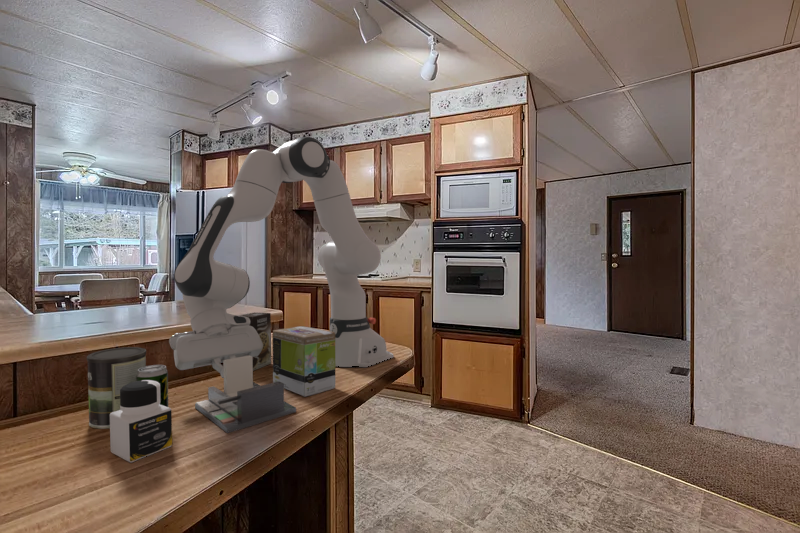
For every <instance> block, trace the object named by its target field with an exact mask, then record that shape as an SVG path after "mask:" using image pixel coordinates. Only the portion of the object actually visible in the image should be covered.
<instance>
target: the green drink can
mask: <svg viewBox="0 0 800 533" xmlns="http://www.w3.org/2000/svg"><path fill="white" fill-rule="evenodd" d="M141 380H153V381H157V382H158V383H160V401H161V402H160V405H163V406H166V407H169V372H168V369H167V366H166V365H164V364H153V365H146V367H142V368H139V369H138V373H137V375H136V381H141Z"/></svg>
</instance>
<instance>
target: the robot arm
mask: <svg viewBox="0 0 800 533" xmlns="http://www.w3.org/2000/svg"><path fill="white" fill-rule="evenodd" d="M301 181H304V182H305V183H306V184H307V185H308V187H309V189H310V192H311V196H312V200H313V203H314V204H313V205H314V207H315V210H316V214H317V217H318V221H319V224H320V226H321V228H322V229H324V230H325V231H326V233H327V234H328V235H329V236H330V237H329V238H331V239H332V240H331V241H328V242H327V243H324V244H323V245H322V246H321V247H320V248H319V249H318V254H317V259H318V263H319V265H320V266H321V268H322V269H323V271H324V274H325V277H326V281H327V284H328V288H329V294H330V317H329V331H332V332H335V367H338V366H339V367H340V368H353V367H352V366H359V367H358V368H369V367H371V365H372V366H375V365H376V363H377V364H380V363H383V362H385V361H387V359H388V360H390V358H391V359H393V358H394V357H395V356H394V354H393V353H392V352H390V351H388V350H387V343H386V340H385V338H384V337H383V336H381V335H380V334H379V333H378V332H376V331H375V330H373V329H372V328H371V325H370V324H372V325H375V324H376V322H377V319H376V317H371V316H370V317H369V318H368V317H367V313H366V312H367V311H366V308H367V306H366V305H367V303H366V302H367V301H366V299H367V297H366V292H365V289H364V288H362V286H361V284H360V281H359V278H358V276H360V275H361V276H362V275H365V274H369V273H370V274H371V273H372V272H374V271H376V270H377V268H378V267H379V265H380V263H381V258H382V255H381V250H380V248H379V246H378V245H377V244H376V243H375V242H374V241H372V240H371V239H370V238H369V237H368V236H367V234H366V232H365V231H364V229H363V227H362V226H361V224H360V222H359V220H358V218H357V216H356V213H355V209H354V205H353V203H352V199H351V195H350V192H349V188H348V185H347V182H346V179H345V177H344V174H343V172H342V170H341V167H340V166H339V164H338V163H337V162H336V161H334V160H332V159H330V156H329V155H328V154H327V150H326V148H325V147H324V145H323V144H322V143H321V142H320V141H319V140H318V139H316V138H314V137H312V136H300V137H298V138H296V139H292V140H289V141H286V142H284V143H283V144H282V145H280V146H279V147H276V148H275V149H273V150H272V151H270V150H268V149H262V148H261V149H259V148H258V149H253V150H252V151H250V152H249V153H248V154H247V155H246V157H245V159H244V161H243V162H242V164H241V166H240V169H239V171H238V174H237V176H236V179H235V182H234V184H233V186H232V187H231V188H232V189H231V190H230V192H229V193H228V194H227V195H224V196H220V197H219V198H218V199H217V200H216V201H215V202H214V203H213V204H212V206H211V208H210V209H209V211H208V213H207V215H206V217H205V219H204V220H203V223H201V224H202V225H201V226H200V228H199V230H198V231H197V233H196V235H195V238H194V239H193V241H192V242H191V245H190V246H189V249H188V250H187V252H186V253H185V254H184V255H183V257H182V258H181V260H180V261H179V263H178V264H177V266H176V267H175V270H174V273H173V280H174V282H175V286H176V287H177V289H178V290H179V291H180V293H182V300H183V304H184V308H185V311H186V314H187V315H188V316H189V318H190V327H191V329H192V330H191V331H185V332H176V333H174V335H172V336H170V337H169V340H168V343H169V346H170V348H171V349H172V350H173V358H174V365H175V368H177V369H178V370H179V371H184V370H185V371H186V370H189V369H190V370H191V369H194V368H199V367H200V368H201V367H206V366H212V368H213V369H214V370H215V371H216V372H218V373H219V374H220V377H221V378H222V379H224V366H223V364H221V363H223V360H227V359H232V358H238V357H243V356H248V355H250V356H252V357H255V356H258V355H259V354H260V352H261V350H262V348H263V343H262V341H261V339H260V336H259V335H258V333H257V331H256V330H255V328H254V327H252V326H249V325H250V319H249V318H248V317H244V316H240V315H235V314H231V313H228V312H227V310H228V309H230V308H232V307H234V306H235V305H237V304H238V303H240V302H241V301H242V300H244V298H245V297H246V296H247V294H248V293H249V291H250V286H251V284H250V283H251V280H250V276H249V274H248V272H247V270H245V269H243V268H241V267H238V266H236V265H233V264H230V263H229V264H228V263H225V262H222V261H219V260H216V259H214V256H215V253H216V251H217V248H218V247H219V245H220V243H221V241H222V239H223V237H224V235H225V233H226V232H227V230H228V228H229V227H231V226H232V225H234V224H236V223H237V224H238V223H253V222H259V221H262V220H264V219H266V218H267V217H268V216H270V214H271V213H272V211H273V209H274V206H275V204H276V200H277V197H278V193H279V191H280V190H279V189H280V187H281V184H291V183H294V182H295V183H296V182H301ZM384 360H385V361H384ZM382 361H383V362H382ZM379 362H380V363H379ZM368 366H369V367H368Z"/></svg>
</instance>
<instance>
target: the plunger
mask: <svg viewBox="0 0 800 533" xmlns="http://www.w3.org/2000/svg"><path fill="white" fill-rule="evenodd" d="M222 363H223V364H222V366H223V367H224V378H223V392H224V393H225V394H227V395H229V396H230V398H226V399H222V400H218V404H219V405H220V404H223V403H227V402H231V401H235V400H237V391H241V390H245V389H250V388H253V382H254V379H253V378H254V376H253V374H254V372H253V358H252V356H250V355H248V356H243V357H238V358H232V359H227V360H223V362H222Z"/></svg>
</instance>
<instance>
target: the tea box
mask: <svg viewBox="0 0 800 533" xmlns="http://www.w3.org/2000/svg"><path fill="white" fill-rule="evenodd" d="M336 381H337V380H336V366H335V332H332V331H330V330H325V329H320V328H315V327H309V326H303V325H302V326H300V325H299V326H293V327H288V328H279V329H273V330H272V383H274V382H282V383H284V390H288V391H290V392H293V393H295V394H298V395H300V396H302V397H310V396H313V395H317V394H320V393H323V392H326V391H330V390H333V389H335V388H336Z"/></svg>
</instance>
